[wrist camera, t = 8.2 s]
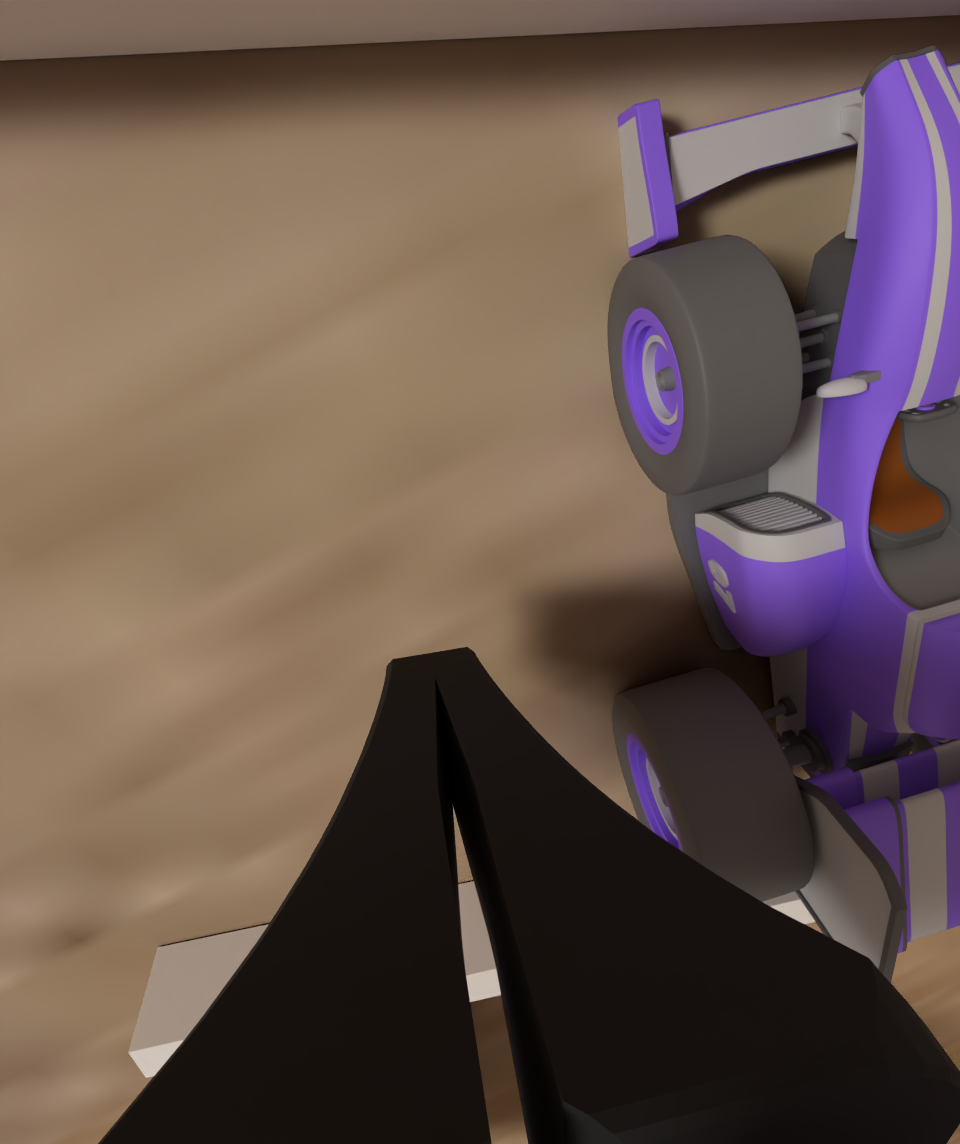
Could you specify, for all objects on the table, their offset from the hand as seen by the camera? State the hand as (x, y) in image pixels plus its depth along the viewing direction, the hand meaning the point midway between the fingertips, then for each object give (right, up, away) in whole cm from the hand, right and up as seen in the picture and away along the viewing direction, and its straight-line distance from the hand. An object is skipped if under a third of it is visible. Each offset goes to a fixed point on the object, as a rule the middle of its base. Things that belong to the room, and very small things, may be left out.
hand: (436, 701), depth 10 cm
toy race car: (+7, +4, +3) cm, 9 cm away
